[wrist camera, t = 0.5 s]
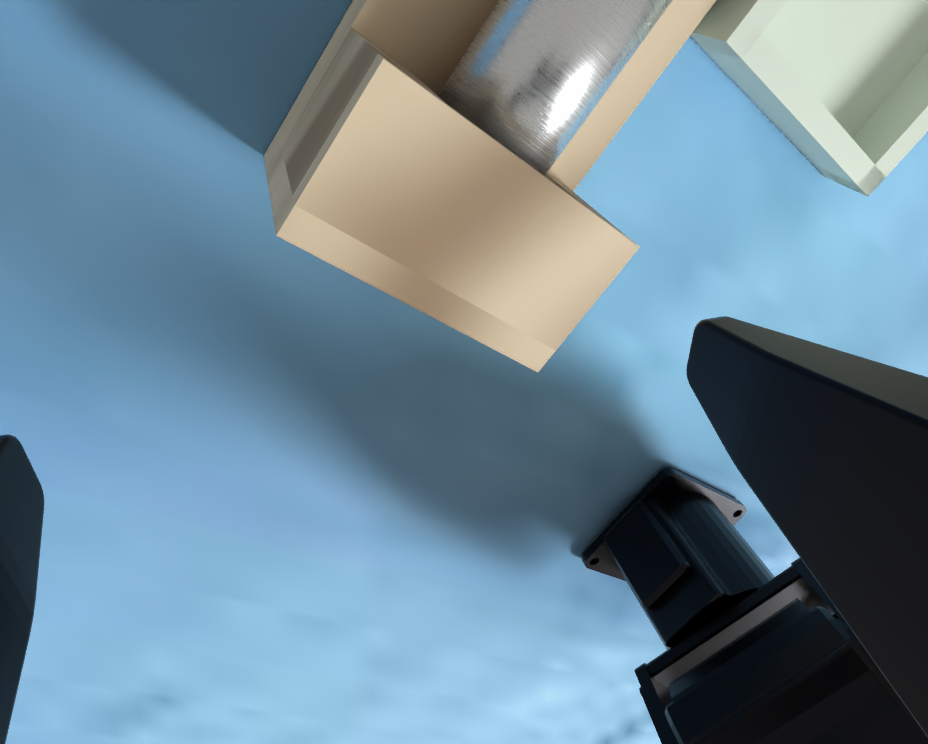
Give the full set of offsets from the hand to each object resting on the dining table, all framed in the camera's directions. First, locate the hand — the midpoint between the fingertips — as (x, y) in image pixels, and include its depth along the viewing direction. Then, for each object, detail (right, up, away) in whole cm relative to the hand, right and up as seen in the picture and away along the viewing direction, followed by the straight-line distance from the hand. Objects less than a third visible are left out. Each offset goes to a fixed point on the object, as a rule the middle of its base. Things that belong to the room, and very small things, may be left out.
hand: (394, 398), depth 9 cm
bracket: (+2, +10, +10) cm, 15 cm away
